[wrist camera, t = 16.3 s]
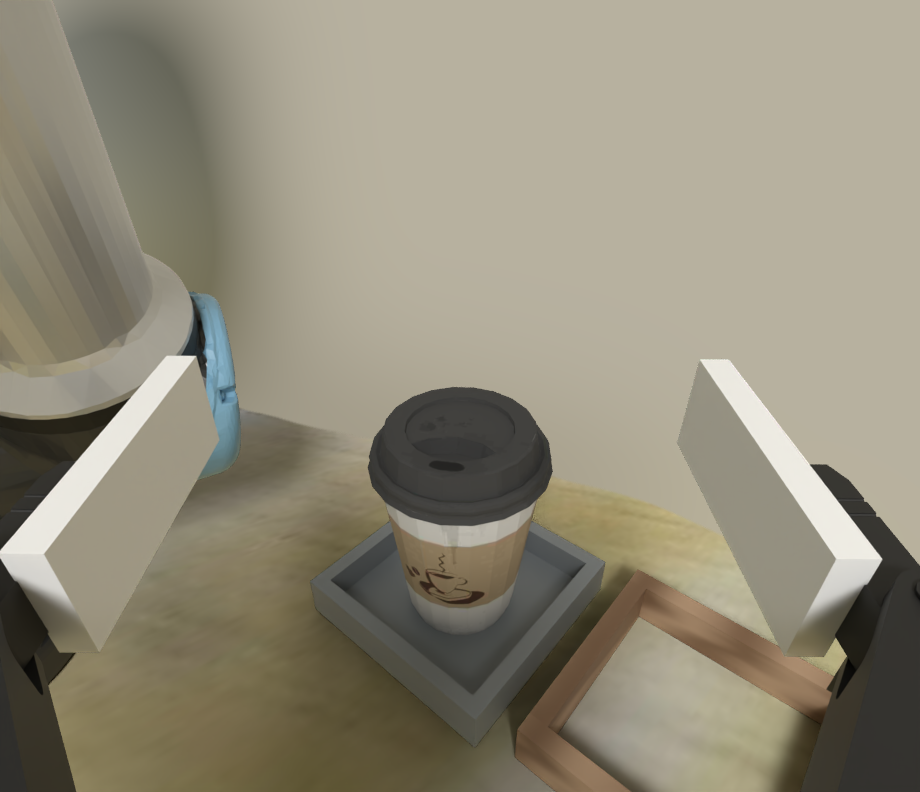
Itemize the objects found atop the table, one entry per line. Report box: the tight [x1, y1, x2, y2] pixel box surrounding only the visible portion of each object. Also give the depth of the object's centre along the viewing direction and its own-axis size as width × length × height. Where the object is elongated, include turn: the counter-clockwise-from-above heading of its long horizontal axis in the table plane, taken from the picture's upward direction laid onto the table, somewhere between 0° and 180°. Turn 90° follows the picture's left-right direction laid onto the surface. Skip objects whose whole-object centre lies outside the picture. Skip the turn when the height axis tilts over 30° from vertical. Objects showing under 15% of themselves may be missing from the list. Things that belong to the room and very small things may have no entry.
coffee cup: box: [368, 387, 553, 635], centre depth 39 cm, size 11×11×15 cm
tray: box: [310, 521, 605, 747], centre depth 43 cm, size 15×15×3 cm
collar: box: [515, 570, 834, 792], centre depth 34 cm, size 15×15×3 cm
